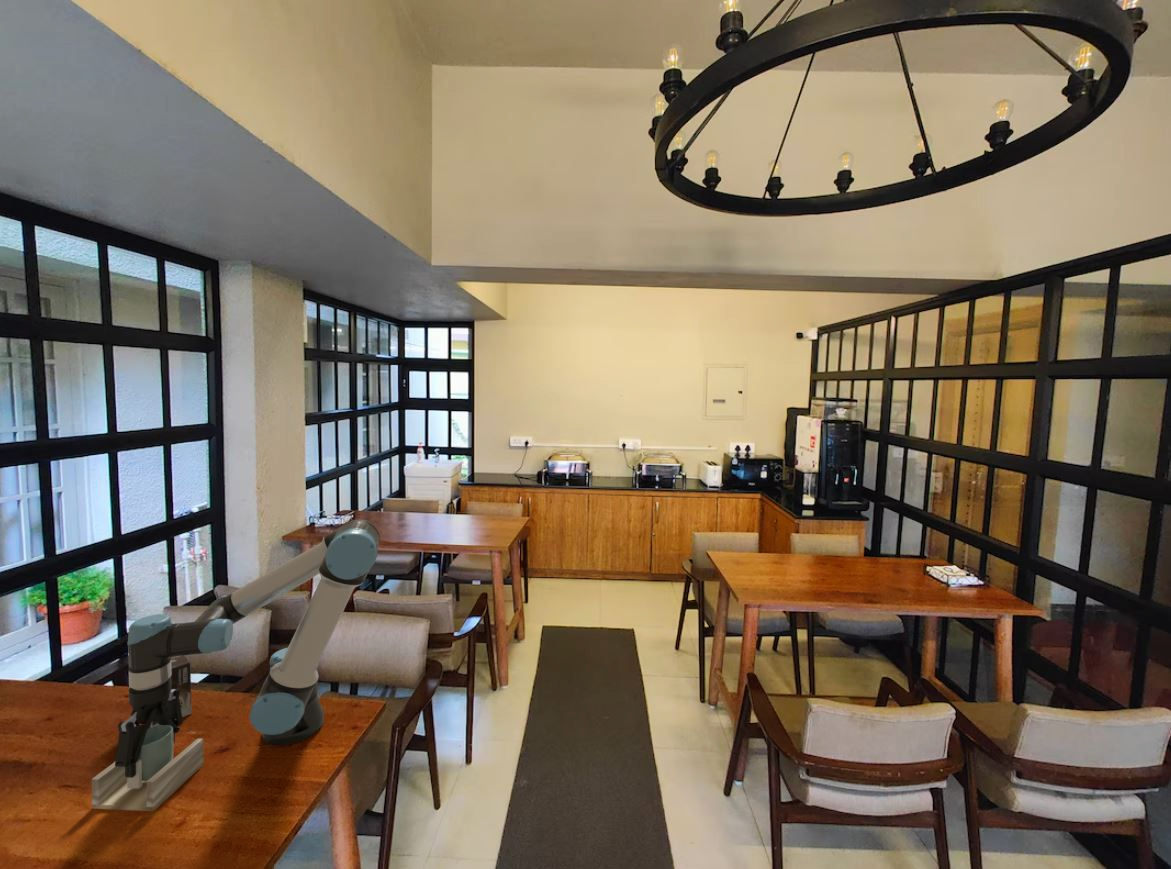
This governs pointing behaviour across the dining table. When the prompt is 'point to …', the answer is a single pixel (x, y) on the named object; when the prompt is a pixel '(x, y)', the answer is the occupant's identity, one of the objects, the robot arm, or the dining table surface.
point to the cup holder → (145, 783)
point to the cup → (156, 750)
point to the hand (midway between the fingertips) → (151, 772)
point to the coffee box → (181, 684)
